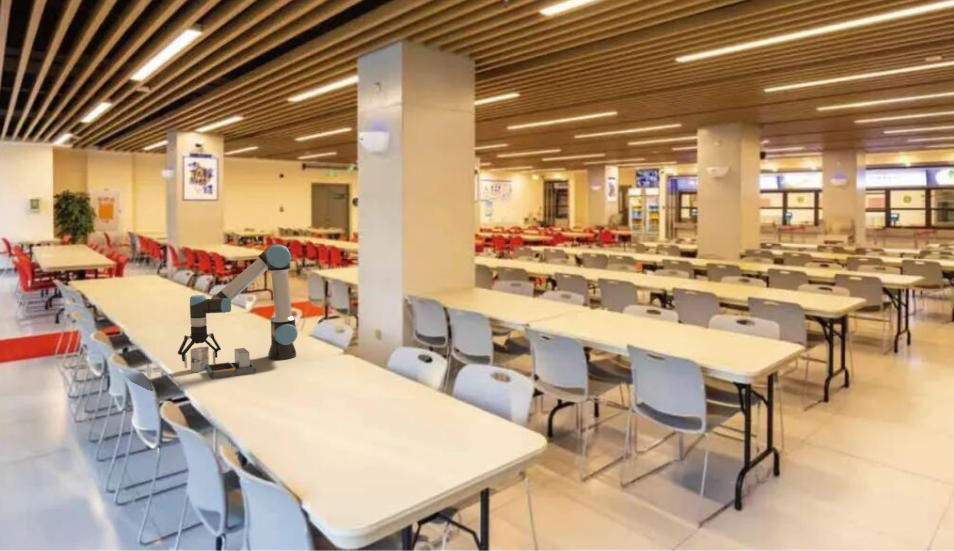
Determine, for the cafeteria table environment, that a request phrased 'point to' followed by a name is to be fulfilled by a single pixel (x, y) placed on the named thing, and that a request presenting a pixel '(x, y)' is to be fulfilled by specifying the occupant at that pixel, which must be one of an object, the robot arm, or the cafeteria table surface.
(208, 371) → the rack
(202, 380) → the cafeteria table surface
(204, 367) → the ink box
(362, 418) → the cafeteria table surface
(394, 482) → the cafeteria table surface
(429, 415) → the cafeteria table surface
